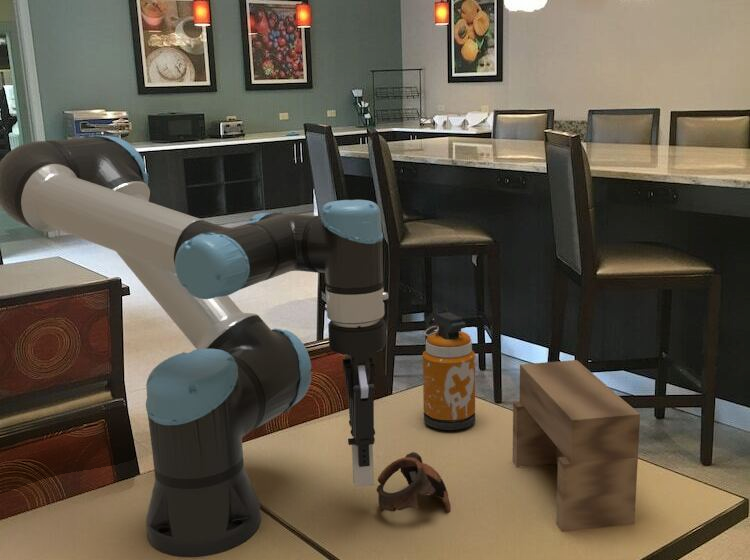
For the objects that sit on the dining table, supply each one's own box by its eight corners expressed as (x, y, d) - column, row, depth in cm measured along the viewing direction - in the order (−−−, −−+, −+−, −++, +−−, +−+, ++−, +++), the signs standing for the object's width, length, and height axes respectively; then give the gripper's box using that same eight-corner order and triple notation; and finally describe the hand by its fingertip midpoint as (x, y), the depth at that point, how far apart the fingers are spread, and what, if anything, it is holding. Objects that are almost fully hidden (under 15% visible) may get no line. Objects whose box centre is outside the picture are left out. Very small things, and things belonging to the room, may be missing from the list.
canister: (439, 437, 133) (437, 323, 128) (409, 414, 143) (407, 307, 138) (485, 426, 137) (485, 315, 132) (453, 404, 146) (452, 300, 142)
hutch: (561, 534, 103) (564, 420, 100) (512, 461, 124) (513, 364, 120) (634, 526, 105) (640, 414, 101) (573, 455, 125) (576, 359, 121)
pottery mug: (459, 525, 106) (432, 483, 103) (397, 552, 108) (368, 511, 105) (449, 467, 117) (424, 427, 114) (392, 492, 119) (366, 454, 116)
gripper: (392, 331, 98) (398, 504, 103) (378, 304, 110) (383, 459, 116) (331, 336, 97) (341, 510, 102) (324, 308, 109) (332, 464, 115)
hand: (363, 483), depth 109 cm, fingers closed
